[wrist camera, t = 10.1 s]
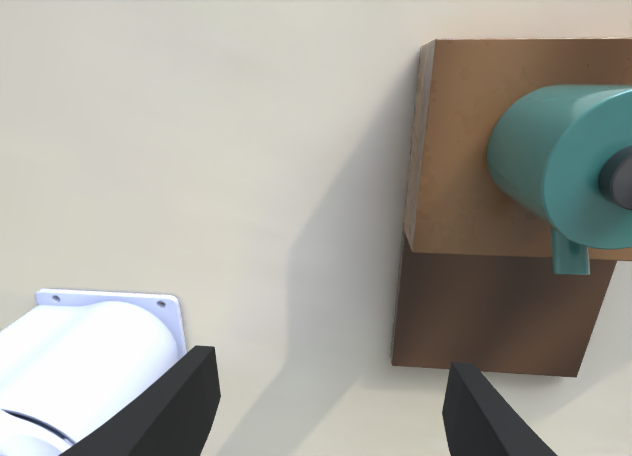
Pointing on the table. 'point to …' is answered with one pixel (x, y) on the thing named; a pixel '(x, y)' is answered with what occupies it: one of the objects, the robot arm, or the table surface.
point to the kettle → (570, 167)
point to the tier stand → (491, 216)
